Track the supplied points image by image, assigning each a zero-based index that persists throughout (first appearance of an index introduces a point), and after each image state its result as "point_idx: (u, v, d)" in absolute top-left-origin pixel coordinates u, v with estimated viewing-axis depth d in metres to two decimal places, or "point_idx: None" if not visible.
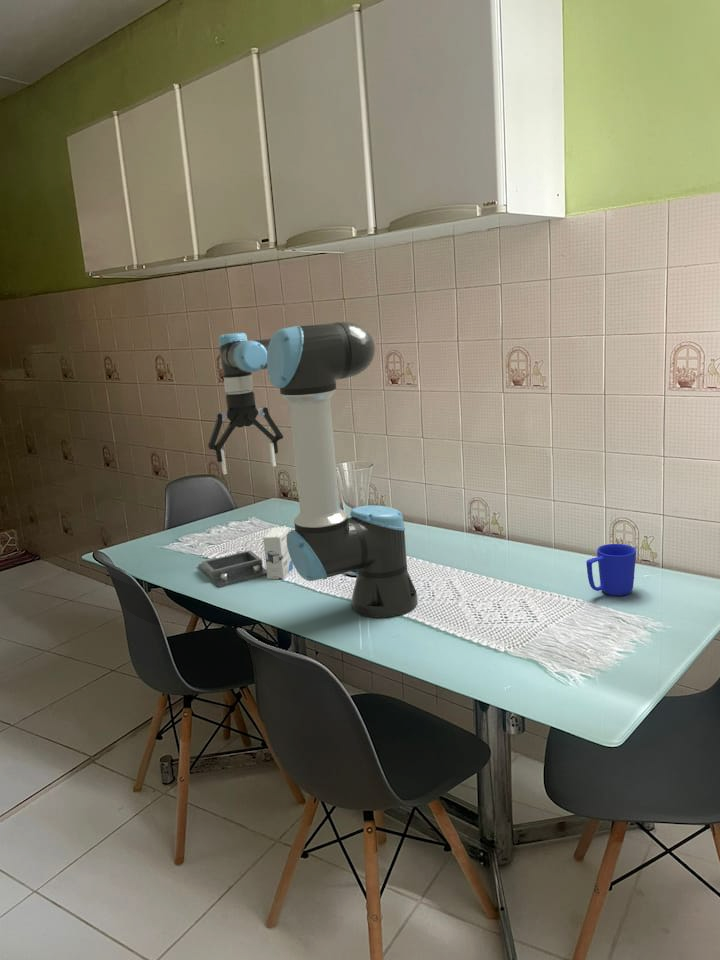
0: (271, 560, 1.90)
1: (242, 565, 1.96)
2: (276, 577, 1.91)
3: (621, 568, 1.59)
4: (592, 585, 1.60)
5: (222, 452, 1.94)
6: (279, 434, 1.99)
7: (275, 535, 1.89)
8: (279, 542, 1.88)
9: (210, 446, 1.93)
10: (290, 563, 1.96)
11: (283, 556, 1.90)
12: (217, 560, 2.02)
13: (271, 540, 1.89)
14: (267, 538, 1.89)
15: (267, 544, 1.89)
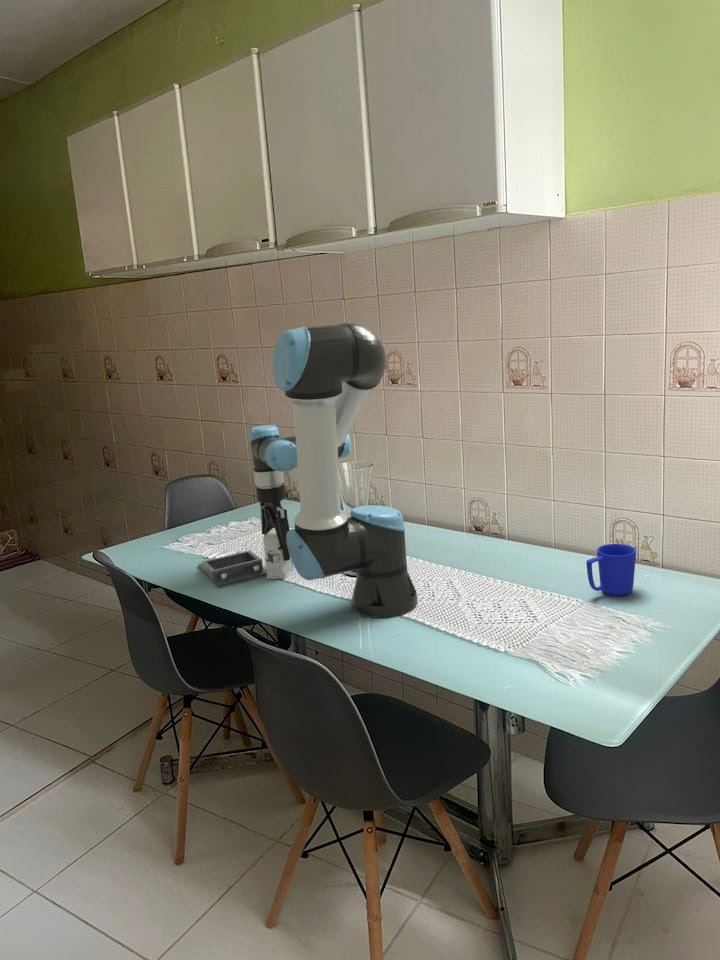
0: (271, 560, 1.90)
1: (242, 565, 1.96)
2: (276, 577, 1.91)
3: (621, 568, 1.59)
4: (592, 585, 1.60)
5: None
6: (282, 543, 1.85)
7: (275, 535, 1.89)
8: None
9: (262, 531, 1.99)
10: None
11: None
12: (217, 560, 2.02)
13: (271, 540, 1.89)
14: (267, 538, 1.89)
15: (267, 543, 1.89)
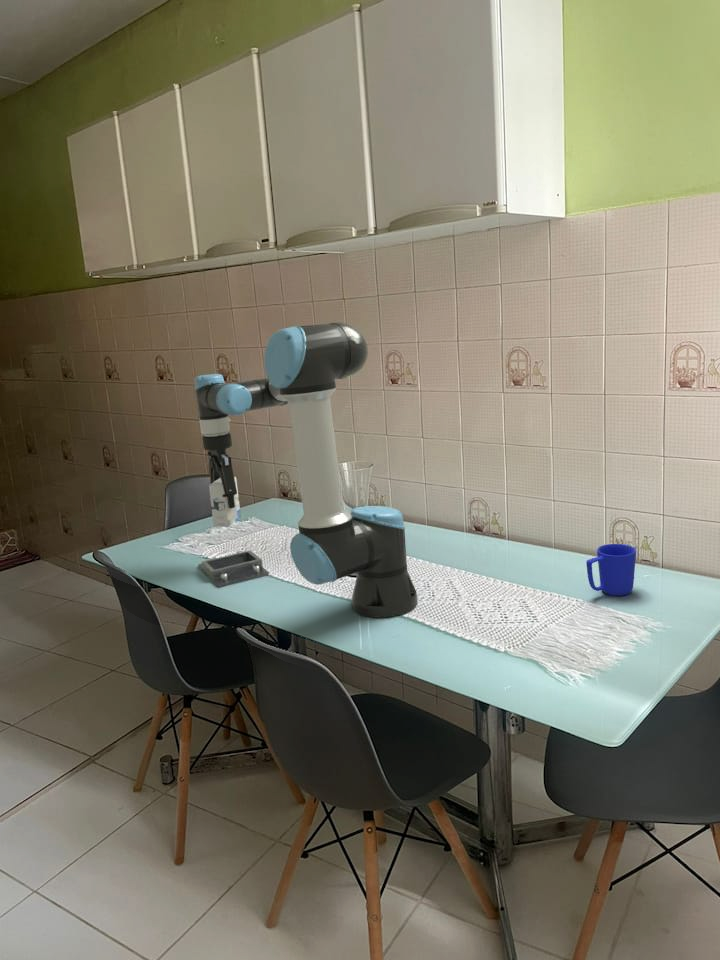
0: (216, 508, 1.92)
1: (242, 565, 1.96)
2: (222, 524, 1.93)
3: (621, 568, 1.59)
4: (592, 585, 1.60)
5: None
6: (226, 490, 1.88)
7: (221, 483, 1.92)
8: None
9: (210, 482, 2.01)
10: (237, 512, 1.98)
11: None
12: (217, 560, 2.02)
13: (216, 488, 1.91)
14: (212, 485, 1.91)
15: (213, 491, 1.91)
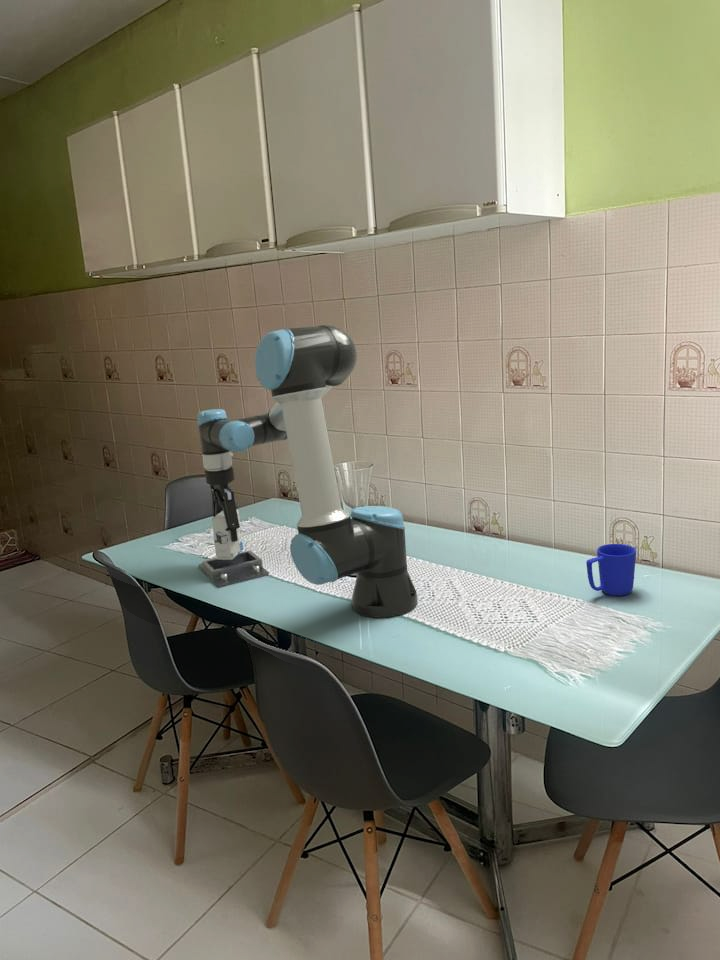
0: (219, 541, 1.94)
1: (242, 565, 1.96)
2: (224, 557, 1.95)
3: (621, 568, 1.59)
4: (592, 585, 1.60)
5: None
6: (229, 524, 1.90)
7: (223, 516, 1.94)
8: None
9: (213, 514, 2.03)
10: (240, 544, 2.00)
11: None
12: (217, 560, 2.02)
13: (219, 522, 1.93)
14: (215, 519, 1.93)
15: (216, 525, 1.93)
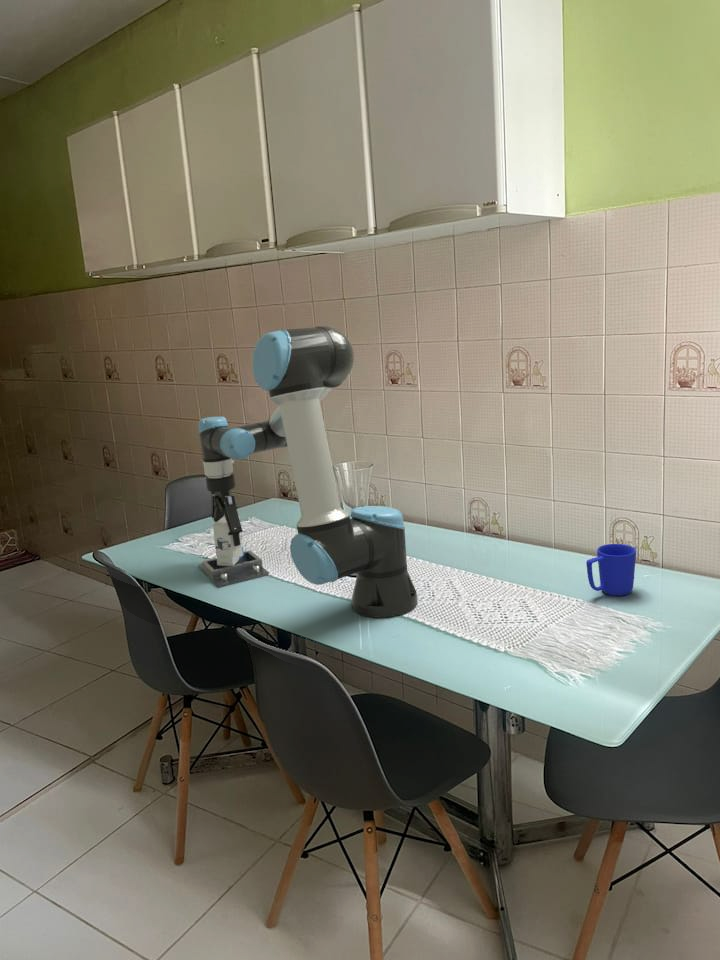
0: (220, 547, 1.95)
1: (242, 565, 1.96)
2: (225, 563, 1.95)
3: (621, 568, 1.59)
4: (592, 585, 1.60)
5: None
6: (231, 528, 1.88)
7: (224, 523, 1.94)
8: (228, 529, 1.93)
9: None
10: None
11: None
12: None
13: (220, 528, 1.93)
14: (216, 525, 1.93)
15: (217, 531, 1.94)
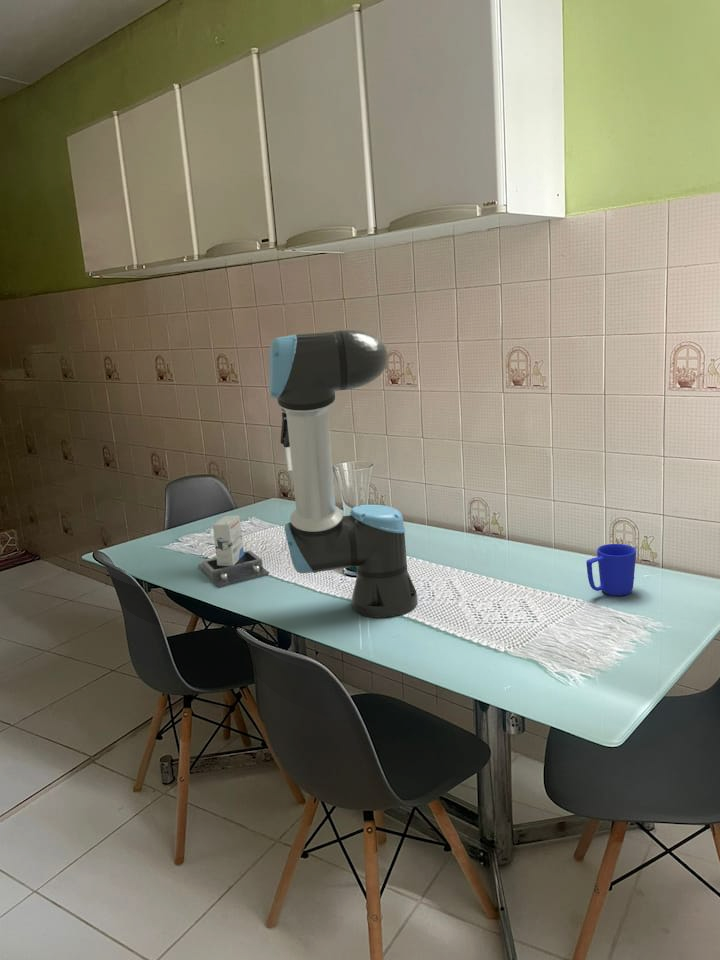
0: (220, 547, 1.95)
1: (242, 565, 1.96)
2: (225, 563, 1.95)
3: (621, 568, 1.59)
4: (592, 585, 1.60)
5: (285, 449, 2.01)
6: None
7: (224, 523, 1.94)
8: (228, 529, 1.93)
9: None
10: (241, 550, 2.01)
11: (232, 543, 1.95)
12: None
13: (220, 528, 1.93)
14: (216, 525, 1.93)
15: (217, 531, 1.94)
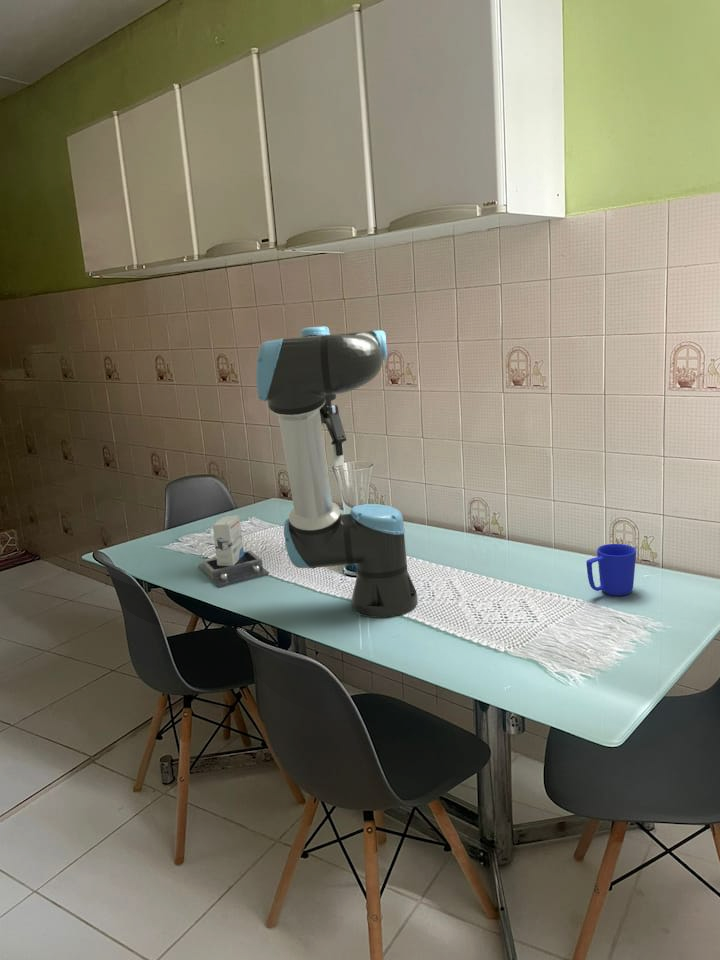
0: (220, 547, 1.95)
1: (242, 565, 1.96)
2: (225, 563, 1.95)
3: (621, 568, 1.59)
4: (592, 585, 1.60)
5: None
6: (336, 437, 1.88)
7: (224, 523, 1.94)
8: (228, 529, 1.93)
9: None
10: (241, 550, 2.01)
11: (232, 543, 1.95)
12: None
13: (220, 528, 1.93)
14: (216, 525, 1.93)
15: (217, 531, 1.94)
